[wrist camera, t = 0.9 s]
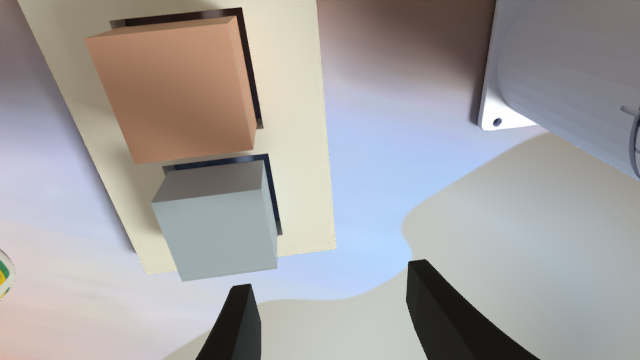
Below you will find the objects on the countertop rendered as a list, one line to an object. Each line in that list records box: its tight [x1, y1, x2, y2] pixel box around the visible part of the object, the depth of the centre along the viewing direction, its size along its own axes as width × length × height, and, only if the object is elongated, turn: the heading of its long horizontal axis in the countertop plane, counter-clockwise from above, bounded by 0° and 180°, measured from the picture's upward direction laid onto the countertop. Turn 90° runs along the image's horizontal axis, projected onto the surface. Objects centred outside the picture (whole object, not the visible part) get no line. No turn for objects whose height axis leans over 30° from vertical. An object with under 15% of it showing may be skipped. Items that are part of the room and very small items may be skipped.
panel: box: [17, 0, 336, 275], centre depth 17 cm, size 12×23×2 cm, turn 5°
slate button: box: [151, 160, 277, 282], centre depth 18 cm, size 5×5×3 cm
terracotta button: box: [84, 16, 257, 164], centre depth 15 cm, size 5×5×3 cm
